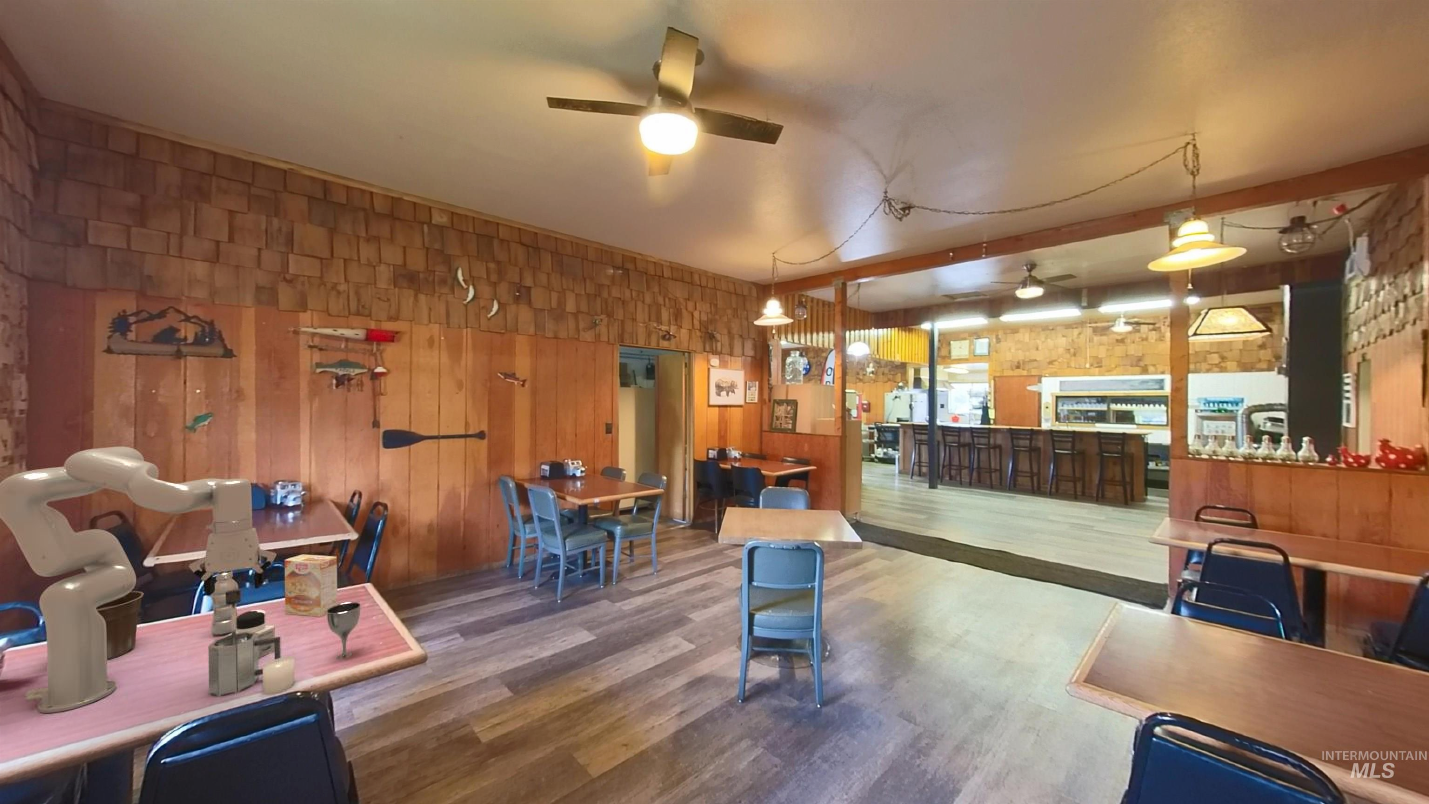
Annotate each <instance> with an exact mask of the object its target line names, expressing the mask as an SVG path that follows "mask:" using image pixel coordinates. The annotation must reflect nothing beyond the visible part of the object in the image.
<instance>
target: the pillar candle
mask: <svg viewBox="0 0 1429 804" xmlns="http://www.w3.org/2000/svg"><path fill="white" fill-rule="evenodd" d="M295 661H296V660H295V657H292V656H285V657H283V656H282V657H281V658H278V659H275V658H274V659H273V660H270V661H268V662H266V663H265V664H263V666H262V669H263V674H262V694H263V695H275V694H279V693H282V692H284V691H286V690H289V689H290V688H292V687H293V686H294V685H295Z"/></svg>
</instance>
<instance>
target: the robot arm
mask: <svg viewBox="0 0 1429 804" xmlns="http://www.w3.org/2000/svg"><path fill="white" fill-rule="evenodd" d="M159 473H160V472H159V468H158V467H157V465H156V464H154V463H152V462H148V461H145V458H144V456H143V455H142V453H141V452H139V451H138V450H137V449H135V448H132V447H128V446H111V447H99V448H90V449H85V450H81V451H77V452H75V453H73V454H72V455H70V456H69V457H68V458H67V459H66V460H65V462H64V464H63V466H57V467H47V468H40V469H38V468H37V469H33V470H27V471H23V472H20V473H16V474H13V475H10V476H9V477H7V478H5V479H3V480H2V481H1V482H0V519H1V521H3V523H5V525H6V526H7V528H9V530H10V531H11V532H12V534H13V536H14V537H15V539H16V542H17V544H18V546H19V548H20V550H21V551H22V554H23V556H24V557H25V559H26V560H27V562H28V565H29V566H30V568H31V569H32V571H33V572H34V573H35V574H36V575H38V576H41V577H44V578H45V577H49V578H50V577H55V576H60V575H64V574H67V573H70V572H73V571H77V570H80V569H84V570H85V572H82V573H78V574H75V575H73V576H70V577H66V578H64V579H61V580H59V581H57V582H55V583H53V584H51V585H50V586H48V587H47V588H46V589H45V590H44V591H43V592H42V594H41V595H40V598H39V608H40V611H41V614H42V617H43V619H44V624H45V629H46V630H45V631H46V651H47V652H46V655H47V657H46V659H47V663H46V664H47V685H46V687H43V688H42V687H41V688H33V689H28V690H27V692H26V693H25V696H24V697H25V702H32V701H36V700H40V702H39V703H38V705H37V710H38V712H39V713H44V714H49V713H51V714H52V713H58V712H59V713H60V712H63V711H64V712H65V711H69V710H72V709H76V708H80V707H83V706H86V705H89V704H92V703H94V702H96V701H99V700H102V699H103V698H105V697H107V696H109V695H110V694H112V693H113V692H115V690H116V689H117V683H116V681H113V680H108V660H107V636H106V622H105V620H104V618H103V617H102V616H101V615H100V614H99V613H98V611H97V610H96V607H98V606H101V605H103V604H105V603H108V602H111V601H113V600H116V599H118V598H121V597H123V596H125V595H127V594H128V593H129V592H131V591H132V590H133V589H134V588H135V586H136V584H137V576H136V572H135V570H134V567H133V566H132V564H131V562H130V560H129V557H128V556H127V554H126V552H125V550H124V548H123V546H122V545H121V543H120V541H119V539H118V538H117V537H116V535H113V534H112V533H111V532H109V531H108V530H105V529H104V530H103V529H97V528H95V529H87V530H83V531H82V530H81V531H77V532H76V531H74V530H73V528H72V527H71V525H70V523H69V521H68V519H67V517H65V515H64V514H63V513H61V512H60V511H58V510H57V509H55V508H53V507H52V506H49V505H47V503H49V502H54V501H60V500H67V499H71V498H78V497H83V496H87V495H90V494H94V493H96V492H99V491H102V490H104V489H109V490H113V491H116V492H120V493H124V494H126V495H127V496H128V498H129V499H130V500H131V501H132V502H133V503H134V504H136V505H137V506H139V507H142V508H145V509H148V510H152V511H156V512H161V513H166V514H174V515H175V514H177V515H178V514H185V513H189V512H193V511H197V510H200V509H205V508H209V507H212V521H211V523H207V524H206V525H205V529H206V530H211V533H210V534H209V535H208V537H207V541H206V548H205V549H206V550H205V556H203V557H201V558H200V559H198V560H196V561H194V562H192V563H190V564H189V565H188V567H189V569H190V570H191V571H192V572H193V575H194V576H196V577H198V578H200V579H201V581H203V592H205V594H206V596H211V594H212V593H213V592H215V583H216V582H215V580H216V577H214V576H213V575H214V574H215V573H216V574H217V573H219V572H226V571H232V572H233V571H240V570H247V569H252V570H253V571H255V572H256V573H254V589H260V587H262V586H263V584H264V583H265V570H267V568H268V567H269V566H271V565H272V564H273V562H274V560H275V558H277V557H276V556H277V553H276V552H273V551H270V550H265V549H261V546H260V540H259V536H258V533H257V529H256V527H253V507H252V506H253V504H252V503H253V502H252V483H251V481H250V480H249V479H247V478H231V479H230V478H229V479H224V478H203V479H201V478H200V479H196V480H190V481H185V482H180V483H174V482H173V483H172V482H168V481H164V480H162V479H161V480H160V479H158V478H159ZM261 557H264V558H267V559H266V561H265V562H264V564H263V563H262V562H260V561H261ZM203 564H204V568H205V569H203V568H201V565H203Z"/></svg>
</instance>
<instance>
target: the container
mask: <svg viewBox="0 0 1429 804" xmlns="http://www.w3.org/2000/svg"><path fill="white" fill-rule="evenodd" d="M237 616H238V617H237V618H236V627H237V629H236V633H241V632H248V631H251V632H255V633H258V640H263V639H269V638H275V637H276V635H275V634H276V630H275V629H276V628H275V625H270V624H269V625H267V612H266V611H265V610H263V609H253V610H248V611H245V612H243V613H241V614H238V615H237ZM230 634H232V632H230V633H228V635H230ZM271 653H274V643H271V644H265V645H260V646H258V656H259V659H260V658H262V657H264V656H267V655H269V654H271Z"/></svg>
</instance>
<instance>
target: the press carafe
mask: <svg viewBox="0 0 1429 804" xmlns="http://www.w3.org/2000/svg"><path fill="white" fill-rule="evenodd" d="M229 634H230V635H229ZM229 634H228V635H226V636H222V637H219V638H217V639H215V640H213V641H212V642H211V643H210V645H208V649H207V650H208V695H210V696H211V697H217V698H219V697H226V696H227V697H228V696H231V695H236V694H239V693H241V692H244V691H246V690H248V689H250V688H252V687H253V686H255V685H256V684H257V683H258V682H259V679H260V676H263V668H261V669H259V668H260V667H259V666H260V664H259V663H260V662H259V661H260V660H259V659H260V658H259V656H258V646H260V645H265V644H271V643H274V651H273V653H274V655H273V656H274V660H275V659H278V658H282V657H281V654H282V653H281V650H282V649H281V636H277V637H276V636H275V638H269V639H263V640H258V633H255V632H251V631H248V632H241V633H236V645H232V634H231V633H229Z"/></svg>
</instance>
